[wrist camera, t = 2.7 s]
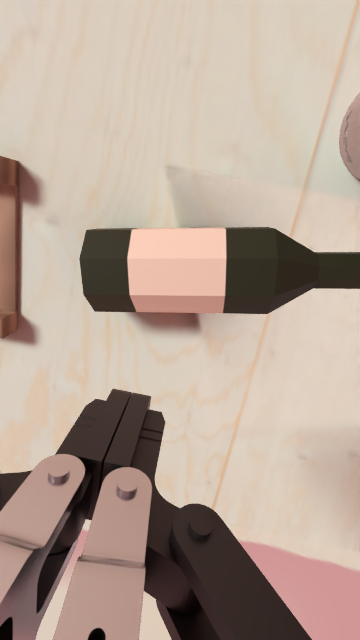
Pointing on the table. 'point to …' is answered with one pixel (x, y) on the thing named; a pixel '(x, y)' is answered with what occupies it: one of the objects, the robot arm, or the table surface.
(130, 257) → the wine bottle
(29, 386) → the table surface
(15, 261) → the u rest
